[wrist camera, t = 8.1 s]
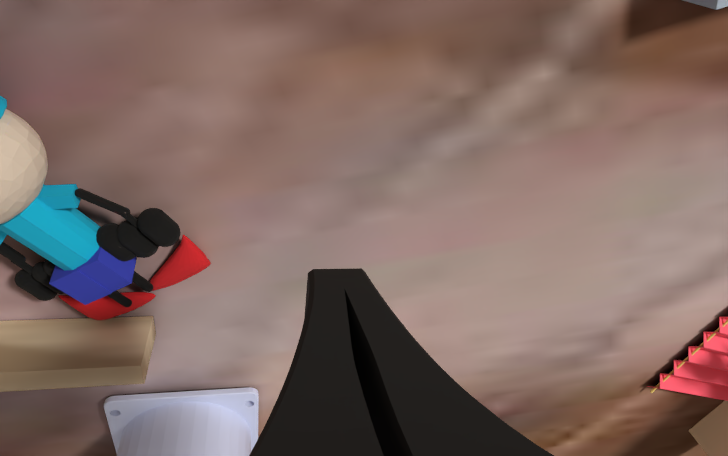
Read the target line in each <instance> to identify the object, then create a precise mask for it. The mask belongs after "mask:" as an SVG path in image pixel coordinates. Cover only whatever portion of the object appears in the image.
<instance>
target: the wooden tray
mask: <svg viewBox="0 0 728 456" xmlns="http://www.w3.org/2000/svg"><path fill="white" fill-rule="evenodd" d="M155 335H156V331H155V325H154V319H153V316H143V317H113V318H110V319H106V320H95V319H92V318H78V319H46V320H14V321H0V392H7V391H24V390H41V389H58V388H76V387H93V386H110V385H127V384H144V383H145V379H146V374H147V370H148V366H149V361H150V357H151V353H152V348H153V344H154V340H155Z"/></svg>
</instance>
